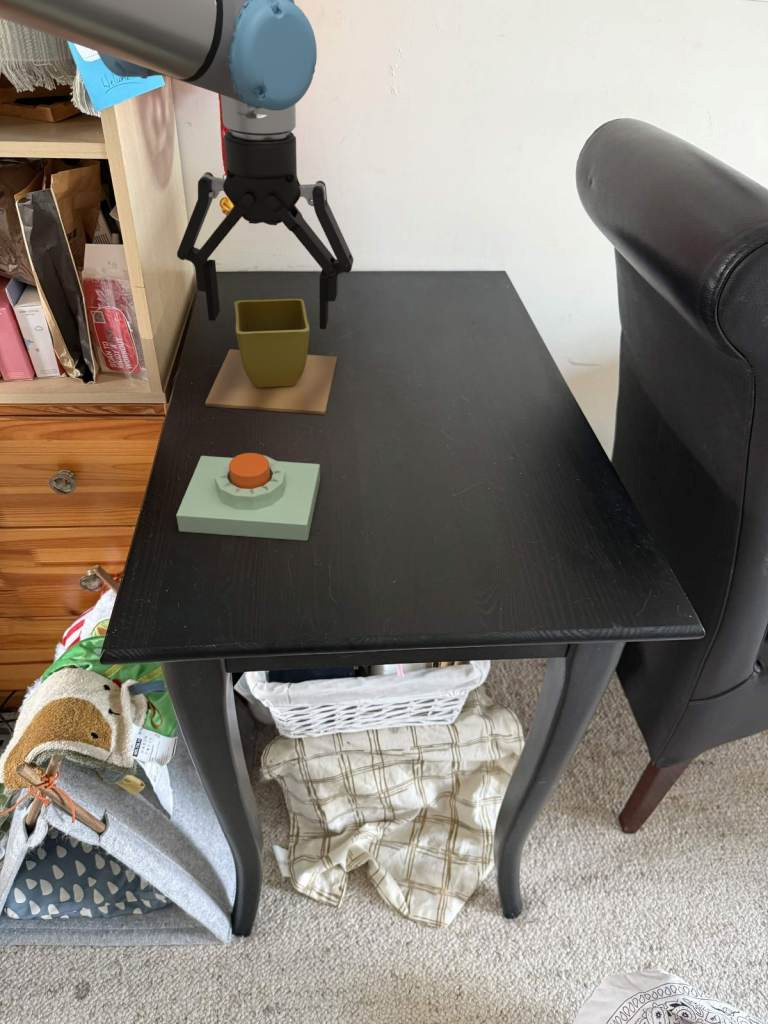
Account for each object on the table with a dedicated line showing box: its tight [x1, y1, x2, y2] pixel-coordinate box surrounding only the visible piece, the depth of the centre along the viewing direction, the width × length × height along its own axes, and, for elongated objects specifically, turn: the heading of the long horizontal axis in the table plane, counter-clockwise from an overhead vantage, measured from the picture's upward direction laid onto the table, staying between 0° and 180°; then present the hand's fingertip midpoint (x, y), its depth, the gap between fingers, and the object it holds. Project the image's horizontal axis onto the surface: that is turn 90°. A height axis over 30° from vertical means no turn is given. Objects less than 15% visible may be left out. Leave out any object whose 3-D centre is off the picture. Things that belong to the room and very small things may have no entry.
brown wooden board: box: [204, 348, 338, 415], centre depth 96 cm, size 15×14×1 cm
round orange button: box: [229, 452, 270, 489], centre depth 74 cm, size 4×4×2 cm
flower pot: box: [234, 298, 311, 388], centre depth 93 cm, size 9×9×9 cm
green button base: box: [175, 454, 321, 542], centre depth 76 cm, size 13×10×4 cm
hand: (269, 320), depth 90 cm, fingers open, 13 cm apart
